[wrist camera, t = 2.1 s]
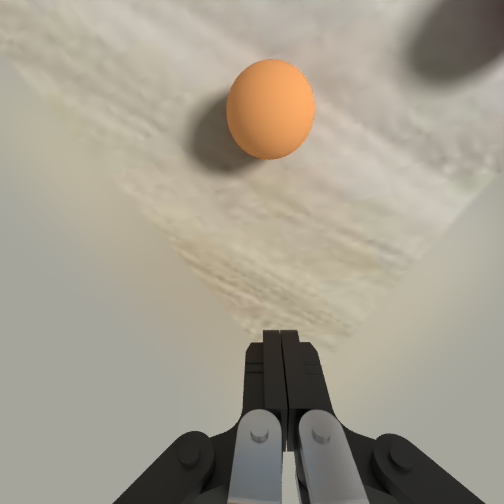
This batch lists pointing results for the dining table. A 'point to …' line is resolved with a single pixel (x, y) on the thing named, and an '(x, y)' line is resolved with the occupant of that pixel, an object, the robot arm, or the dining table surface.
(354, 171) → the dining table surface
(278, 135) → the ball
